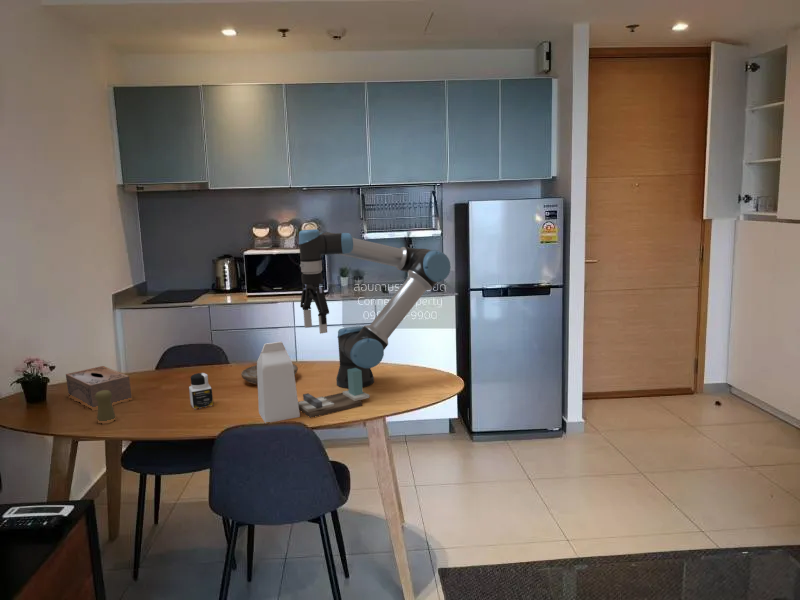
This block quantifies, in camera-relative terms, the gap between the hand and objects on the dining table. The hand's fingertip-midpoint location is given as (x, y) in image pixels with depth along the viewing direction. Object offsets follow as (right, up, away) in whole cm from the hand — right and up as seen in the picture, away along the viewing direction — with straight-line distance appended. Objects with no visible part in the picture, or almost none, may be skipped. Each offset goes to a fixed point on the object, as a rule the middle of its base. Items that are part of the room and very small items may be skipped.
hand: (315, 330), depth 224 cm
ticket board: (+5, -27, -4) cm, 28 cm away
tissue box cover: (-88, -29, +18) cm, 94 cm away
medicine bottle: (-43, -29, +4) cm, 52 cm away
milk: (-11, -30, -10) cm, 33 cm away
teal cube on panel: (+15, -25, +2) cm, 29 cm away
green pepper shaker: (-73, -32, -8) cm, 80 cm away
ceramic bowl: (-23, -23, +33) cm, 46 cm away
